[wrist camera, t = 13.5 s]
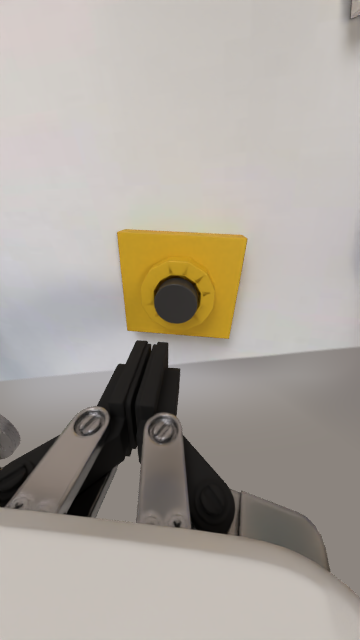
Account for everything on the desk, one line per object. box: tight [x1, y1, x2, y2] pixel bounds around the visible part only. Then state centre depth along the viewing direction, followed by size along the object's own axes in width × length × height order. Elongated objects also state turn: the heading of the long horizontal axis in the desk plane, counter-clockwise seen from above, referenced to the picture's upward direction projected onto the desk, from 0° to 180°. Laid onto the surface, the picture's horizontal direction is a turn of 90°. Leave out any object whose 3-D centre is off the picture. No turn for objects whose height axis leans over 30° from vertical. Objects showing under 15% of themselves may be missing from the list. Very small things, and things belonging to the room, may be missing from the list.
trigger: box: [154, 278, 198, 324], centre depth 18 cm, size 4×4×2 cm
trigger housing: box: [117, 229, 247, 339], centre depth 20 cm, size 10×11×4 cm
